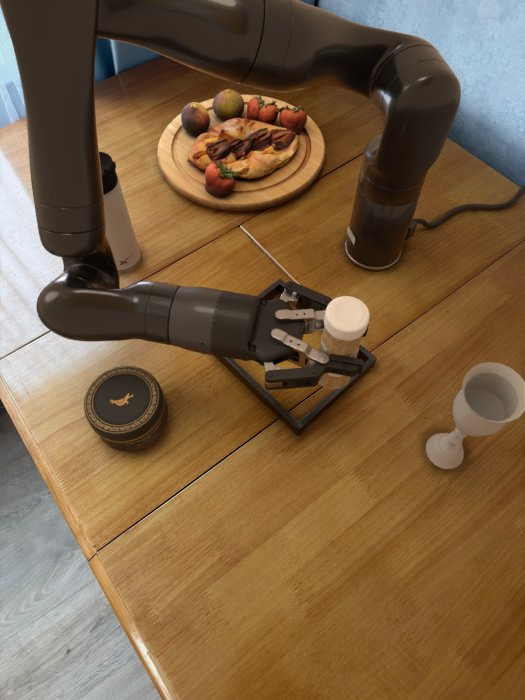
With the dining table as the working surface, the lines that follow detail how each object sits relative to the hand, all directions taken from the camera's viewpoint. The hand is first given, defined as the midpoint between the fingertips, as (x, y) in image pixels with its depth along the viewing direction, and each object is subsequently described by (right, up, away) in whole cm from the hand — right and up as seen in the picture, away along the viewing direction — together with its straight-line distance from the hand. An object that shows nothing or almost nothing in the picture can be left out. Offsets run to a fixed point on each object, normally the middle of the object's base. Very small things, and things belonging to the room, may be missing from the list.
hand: (364, 348), depth 59 cm
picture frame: (-8, -1, +20) cm, 21 cm away
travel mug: (-35, +15, +30) cm, 48 cm away
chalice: (+13, -14, +12) cm, 23 cm away
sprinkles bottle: (-3, -3, +7) cm, 8 cm away
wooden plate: (-15, +37, +43) cm, 59 cm away
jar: (-29, -10, +15) cm, 34 cm away
